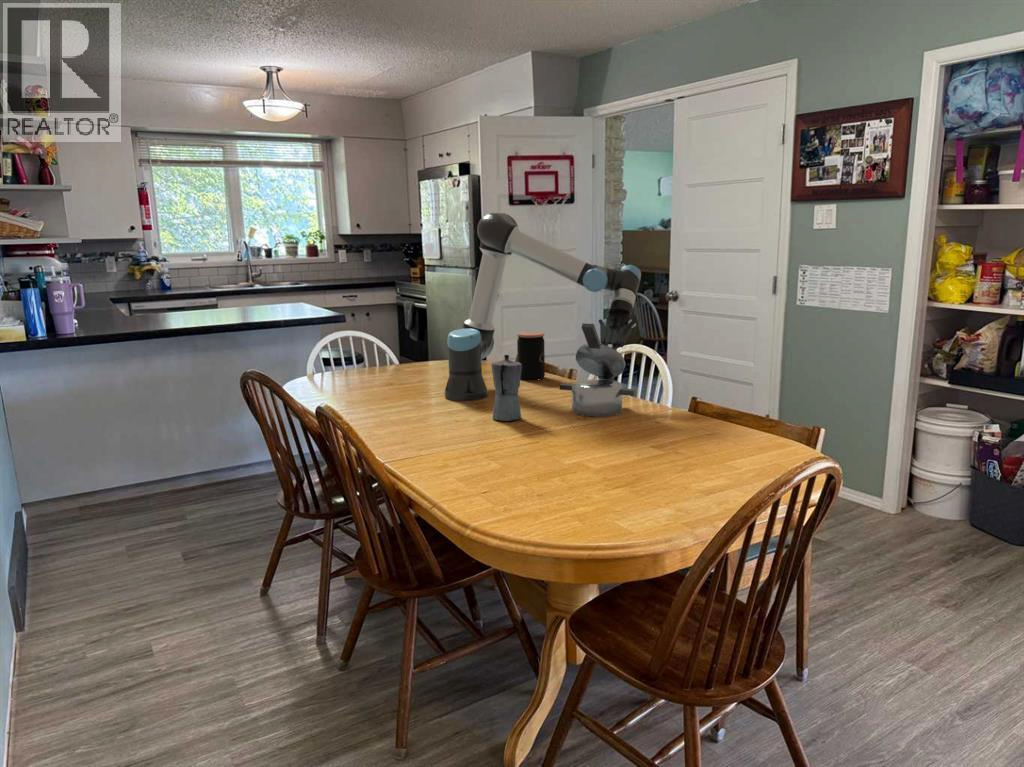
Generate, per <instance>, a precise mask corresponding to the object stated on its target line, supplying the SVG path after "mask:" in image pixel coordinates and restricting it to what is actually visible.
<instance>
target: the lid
mask: <svg viewBox="0 0 1024 767" xmlns="http://www.w3.org/2000/svg"><path fill="white" fill-rule="evenodd" d="M581 330H582V332H583V335H584V338H585V341H586V344H582V345H581V346H580V347H579V348H578V349H577V351H576V353H575V360H576V362H577V364H578V366H579V367H580V368H581V369H582V370H583V371H584V372H587V373H588V374H590V375H593V376H596V377H597V379H599V380H601V379H605V380H614V381H615V378H616V377H618V376H620V375H621V374H623V372H624V371H625V367H626V361H625V358H624V357H623V355H622V354H621V353H620V352H619V351H617V350H615V349H613V348H611V347H609V346H606V345H603V344H601V342H600V338H599V335H598V332H597V329H596V326H595V324H594V323H582V324H581Z"/></svg>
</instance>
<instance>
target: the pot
mask: <svg viewBox="0 0 1024 767" xmlns="http://www.w3.org/2000/svg"><path fill="white" fill-rule="evenodd" d="M558 386H559V391H560V390H562V391H571V412H572V411H573V412H574V413H573V412H572V413H573V414H575V413H576V414H575V415H577V414H579V415H578V416H581V415H583V416H582V417H587V416H593V417H592V418H606V417H605V416H609V417H613V416H612V415H615V416H617V415H616V414H618V415H620V414H621V413H623V396H628V397H630V396H631V397H634V396H636V395H637V389H636V388H635V389H634V388H623V383H621V382H619V381H617V380H615V379H614V380H605V379H598V378H597V379H583V380H577V381H574V382H573V383H564V382H563V383H560V384H559V385H558ZM619 413H620V414H619Z"/></svg>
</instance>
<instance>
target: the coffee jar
mask: <svg viewBox="0 0 1024 767" xmlns="http://www.w3.org/2000/svg"><path fill="white" fill-rule="evenodd" d="M516 336H517V340H516V341H517V342H516V344H517V346H516V348H517V351H516V352H517V353H516V354H517V362H519V363H521V364H522V369H521V378H520V381H526V380H536V381H539V380H538V379H541V380H543V379H544V377H545V375H546V370H545V368H546V366H545V365H546V364H545V362H546V361H545V359H546V358H545V357H546V356H545V353H546V352H545V339H544V336H545V333H544V332H543V331H522V332H518V333H516ZM542 378H543V379H542Z"/></svg>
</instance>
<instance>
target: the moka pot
mask: <svg viewBox="0 0 1024 767" xmlns="http://www.w3.org/2000/svg"><path fill="white" fill-rule="evenodd" d="M503 357H504V360H500V361H495V362H492V363H491V366H490V367H491V372H492V379H493V387H494V390H495V391H494V393H495V395H494V396H495V397H494V402H493V404H494V405H493V410H492V419H493V420H495V421H503V422H507V421H509V422H511V421H518V420H520V419H521V418H522V414H521V406H520V399H519V398H520V397H519V389H520V386H521V379H520V378H521V369H522V364H521V363H519V362H518V361H514V360H510V359H509V358H510V355H509V354H505V355H504V356H503Z"/></svg>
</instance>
